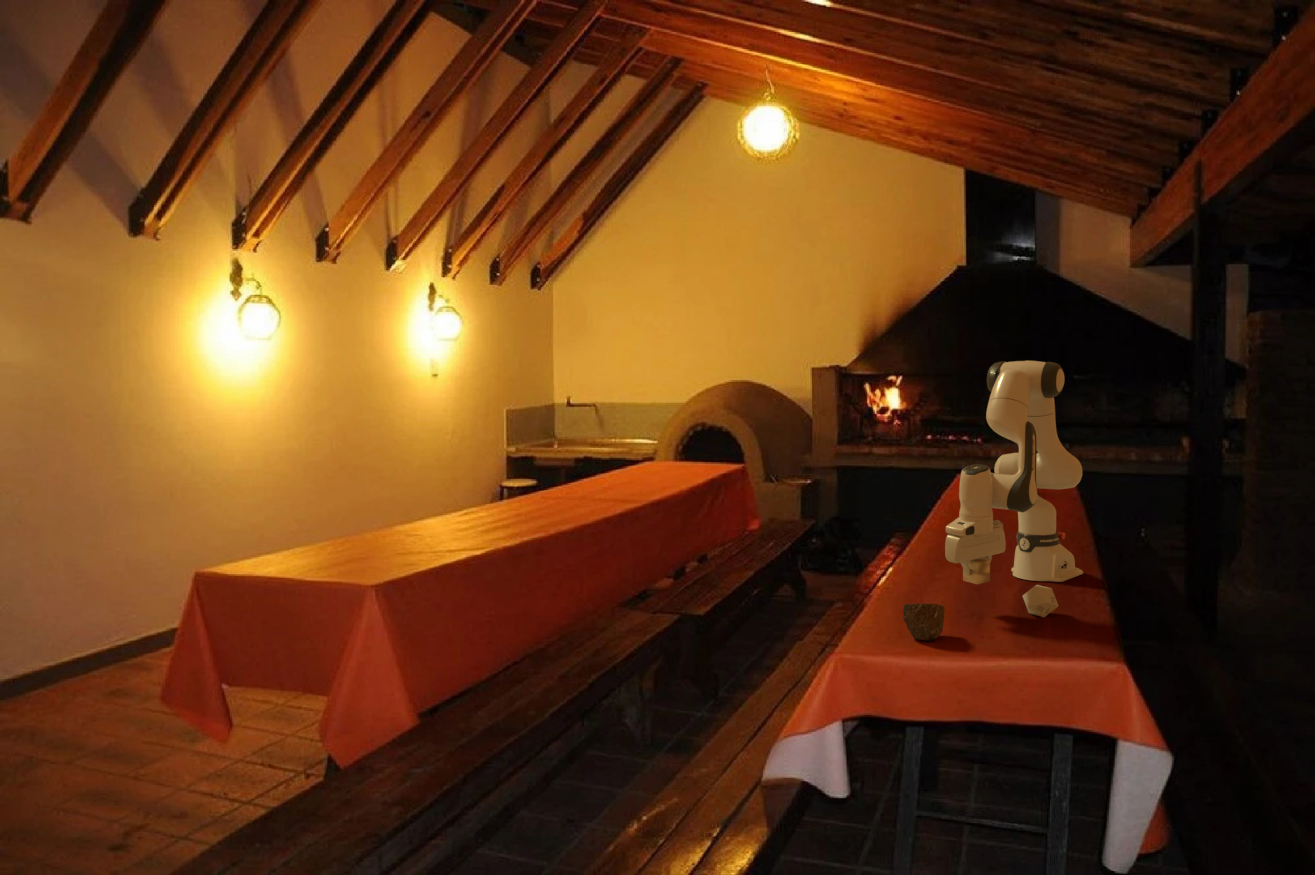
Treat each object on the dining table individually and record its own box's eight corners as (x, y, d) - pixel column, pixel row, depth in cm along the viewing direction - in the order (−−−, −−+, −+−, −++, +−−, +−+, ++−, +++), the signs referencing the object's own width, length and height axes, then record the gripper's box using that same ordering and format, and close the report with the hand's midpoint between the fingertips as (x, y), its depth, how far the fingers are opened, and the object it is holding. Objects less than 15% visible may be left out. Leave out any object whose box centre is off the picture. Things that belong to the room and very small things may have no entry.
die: (1027, 621, 270) (1050, 596, 266) (1010, 599, 277) (1033, 574, 273) (1047, 627, 274) (1070, 602, 270) (1030, 605, 281) (1052, 580, 277)
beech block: (975, 577, 281) (975, 556, 280) (989, 581, 277) (989, 560, 276) (963, 580, 278) (963, 559, 278) (977, 584, 274) (976, 563, 273)
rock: (933, 612, 263) (956, 598, 256) (941, 648, 258) (964, 635, 251) (896, 607, 259) (918, 593, 252) (902, 643, 254) (925, 630, 246)
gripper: (993, 517, 283) (993, 564, 285) (941, 527, 273) (941, 577, 275) (1011, 520, 278) (1011, 569, 280) (958, 531, 268) (959, 581, 269)
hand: (976, 573), depth 277 cm, fingers closed on beech block, 5 cm apart
